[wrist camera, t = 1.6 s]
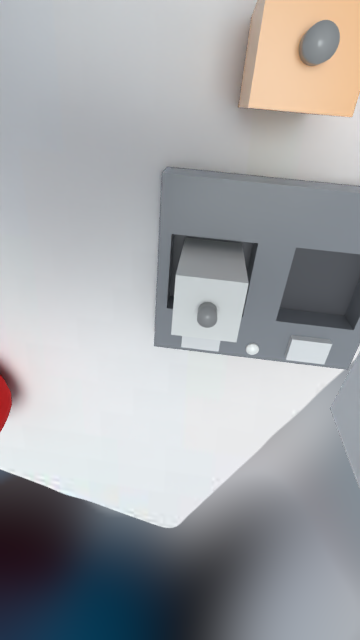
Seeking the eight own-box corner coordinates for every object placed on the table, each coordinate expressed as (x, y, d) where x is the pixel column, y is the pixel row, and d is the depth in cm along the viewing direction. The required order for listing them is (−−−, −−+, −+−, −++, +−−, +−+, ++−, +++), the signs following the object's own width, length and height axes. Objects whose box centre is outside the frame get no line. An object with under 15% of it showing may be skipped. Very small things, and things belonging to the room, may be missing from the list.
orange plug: (251, 17, 22) (275, -49, 13) (328, 23, 22) (410, -39, 13) (238, 107, 25) (249, 107, 15) (306, 113, 25) (361, 117, 15)
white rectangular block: (185, 237, 30) (173, 282, 22) (241, 243, 30) (250, 291, 22) (180, 287, 33) (169, 343, 25) (232, 293, 32) (237, 352, 25)
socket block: (167, 166, 27) (160, 174, 24) (405, 190, 27) (430, 201, 24) (158, 329, 36) (152, 350, 33) (338, 350, 35) (350, 374, 32)
